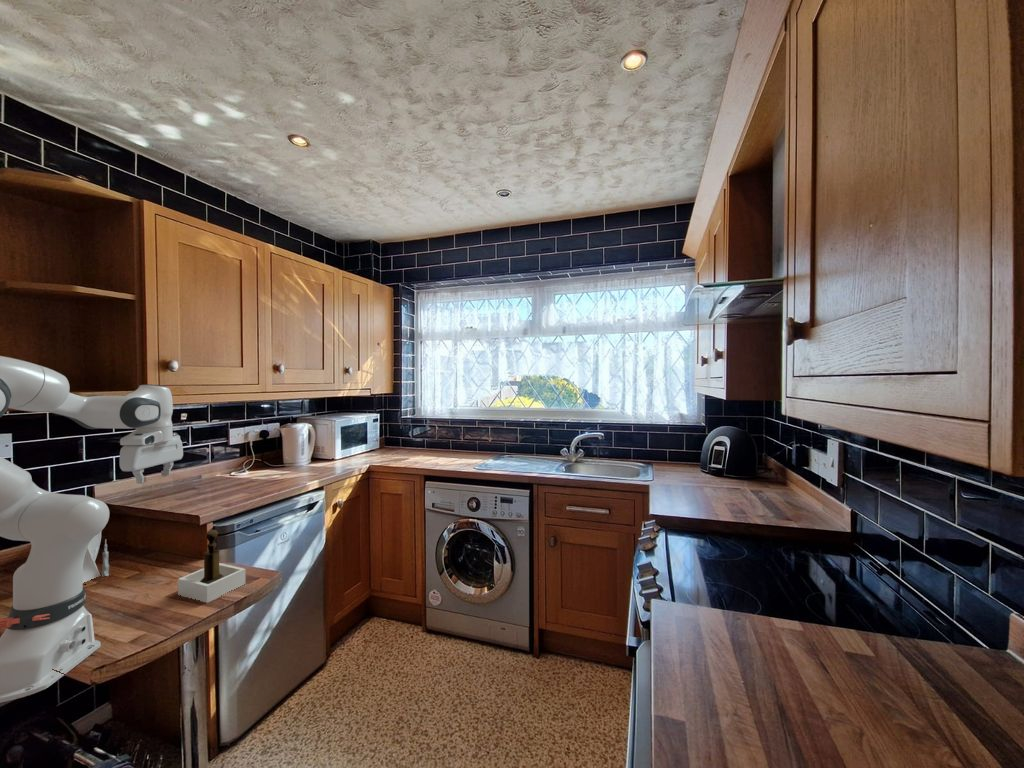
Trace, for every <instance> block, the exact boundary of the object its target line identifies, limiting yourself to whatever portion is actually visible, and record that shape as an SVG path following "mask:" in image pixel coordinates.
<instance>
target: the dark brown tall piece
mask: <svg viewBox="0 0 1024 768" xmlns="http://www.w3.org/2000/svg"><path fill="white" fill-rule="evenodd" d="M218 535H219V531H218V530H216V529H210V530H208V531H207V532H206V534H205V538H206V539H207V541H208V544H207V545H206V546H207V549H208V550H207V551H205V552H204V553H203V568H204V578H203V579H202V580H201V581H200V582H202V583H206V584H210V583H212V582H214V581H217V580H219V579H221V578H223V577H224V576H223V575H221V574H219V563H220V549H216V547H217V543H216V539H217V537H218Z"/></svg>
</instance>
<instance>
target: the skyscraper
mask: <svg viewBox="0 0 1024 768" xmlns="http://www.w3.org/2000/svg"><path fill="white" fill-rule="evenodd" d="M101 540H102V531H101V532H100V533H99V534H97V535H96V536H95V537H93V539H92V540H91V541H90V543H89V545H88V548H87V550H86V553H85V557H84V562H83V583H84V582H87V581H90V580H91V579H94V578H96V577H99V576H101V575H100V571H99V568H98V566H97V564H96V559H97V556H98V554H99V550H100V545H101V542H102V541H101ZM109 573H110V563H109V551H108V544H107V539H104V545H103V552H102V565H101V574H102V577H104V576H107V577H109V575H110V576H111V574H109Z"/></svg>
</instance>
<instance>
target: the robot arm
mask: <svg viewBox="0 0 1024 768" xmlns="http://www.w3.org/2000/svg"><path fill="white" fill-rule="evenodd" d="M9 409H12V410H18V411H24V412H37V413H50V414H54V415H58V416H63V417H66V418H67V419H70V420H72V421H73V422H75V423H76V424H78V425H79V426H81V427H82V428H85V429H89V430H99V429H124V430H125V429H127V430H129V429H134V430H135V431H132V432H131V433H129V434H127V435H125V436H123V437H121V438H120V439H119V443H120V444H119V445H120V446H122V447H121V448H120V451H119V468H120V469H121V471H122V472H132V474H133V476H134V477H135V479H136V480H135V482H136V484H138V485H141V484H145V483H146V482H147V476H144V474H143V473H144V472H145V469H147V468H151V467H155V466H159V465H163V466H164V467H163V470H161V471H160V476H161V477H163V478H164V477H166V478H167V477H169V476H171V470H172V469H173V467H174V462H177V461H180V460H182V459H183V457H184V448H183V447H184V446H183V442H182V440H181V436H180V435H179V434H178V432H173V427H174V425H173V421H172V416H173V412H174V404H173V395H172V392H171V389H170V388H169V387H168V386H165V385H159V384H149V383H147V384H141V385H139V386H138V388H137V389H135V390H134V391H132V392H130V393H126V394H124V395H103V394H89V395H78V394H75V393H72V392H70V383H69V380H68V378H67V377H66V376H65V375H64V374H62V373H60V372H59V371H56V370H54V369H51V368H49V367H46V366H43V365H39V364H36V363H32V362H29V361H26V360H22V359H18V358H13V357H9V356H2V355H0V418H2V417H3V416H4V415H5V414H6V412H7V411H8V410H9ZM109 519H110V509H109V507H108V505H107V503H105V502H104V501H102V500H100V499H98V498H94V497H90V496H89V495H83V494H71V493H70V494H69V493H68V494H66V493H56V492H52V491H49V490H46V489H43V488H41V487H39V486H38V485H37V484H36V483H35V482H34V481H33V479H32V475H31V473H30V472H29V471H27V470H25V469H24V468H22V467H20V466H18V465H17V464H15V463H13V462H11V461H9V460H8V459H5V457H2V456H0V537H1V538H3V539H7V540H11V541H21V542H30V544H31V547H30V551H29V554H28V557H27V559H26V561H25V562H24V563H23V564H21V565H20V566H18V568H17V569H16V570H15V571H14V573H13V576H12V606H11V607H10V609H9V611H8V614H7V617H5V618H4V617H3V618H0V629H4V628H5V630H4V632H3V633H2V634H1V636H0V703H6V702H9V701H14V700H17V699H22V698H25V697H27V696H28V697H29V696H31V695H34V694H36V693H39V692H41V691H44V690H46V689H47V688H49V687H50V686H52V685H53V684H54V683H56V682H57V681H59V680H60V679H61V678H62V677H64V676H65V675H66V674H68V673H69V672H70V671H71V670H72V669H74V668H75V667H76V666H78V665H79V664H80V663H82V662H83V661H85V660H86V658H88V657H89V656H91V655H92V654H93V653H94V652H96V651H97V650H98V649H99V648H101V647H102V645H101V641H100V640H97V639H95V633H94V623H93V616H92V613H90V612H89V610H87V608H86V607H85V606H84V605H85V604H86V598H87V593H86V588H85V587H84V585H83V562H84V557H85V553H86V550H87V548H88V545H89V543H90V541H91V540H92V539H93V537H95V536H96V535H97V534H99V533H100V532H101V533H102V531H103V530H104V529H105V527H106V525H107V524H108V522H109ZM52 669H54V670H57V671H60V672H61V673H64V674H65V675H64V674H61V673H59V672H56V671H54V670H52Z"/></svg>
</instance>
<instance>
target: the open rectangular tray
mask: <svg viewBox="0 0 1024 768" xmlns="http://www.w3.org/2000/svg"><path fill="white" fill-rule="evenodd" d="M219 574H221V575H223V576H224V577H223V578H221V579H219V580H217V581H214V582H212V583H210V584H206V583H202V582H200V581H201V580H202V579H203V578H204V567H203V568H201V569H199V570H196V571H193V572H191V573H189V574H186V575H183V576H182V577H179V578H178V579H177V595H178V596H180V595H181V596H180V597H184V598H187V597H188V599H191V598H192V600H195V599H196V601H198V600H200V601H199V602H203V603H205V602H206V604H207V603H210V602H213V601H214V600H216V599H218V598H220V597H222V596H224V595H226V594H228V593H230V592H232V591H234V589H235V590H236V588H237V589H239V588H240V586H241V587H242V585H243V586H245V585H246V568H243V567H239V566H234V565H230V564H226V563H221V562H219ZM244 584H245V585H244ZM238 587H239V588H238ZM231 590H232V591H231ZM229 591H230V592H229ZM227 592H228V593H227ZM225 593H226V594H225ZM223 594H224V595H223ZM221 595H222V596H221Z"/></svg>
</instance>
